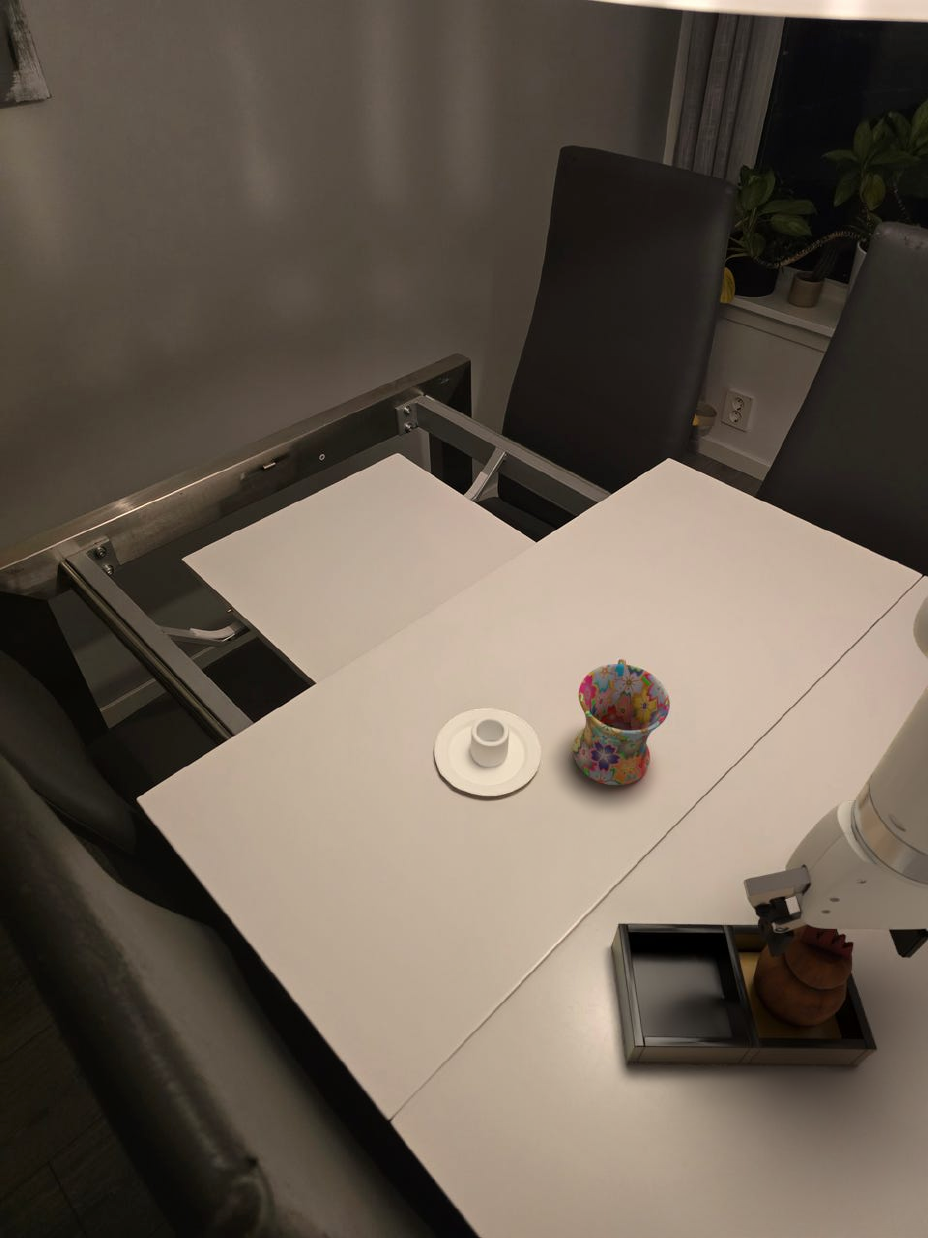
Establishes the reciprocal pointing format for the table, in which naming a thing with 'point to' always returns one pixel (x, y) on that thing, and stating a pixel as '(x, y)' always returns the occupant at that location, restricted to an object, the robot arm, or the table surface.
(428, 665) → the table surface
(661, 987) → the divided tray
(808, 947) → the wooden figurine
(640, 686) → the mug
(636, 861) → the table surface
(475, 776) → the candle holder
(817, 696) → the table surface
